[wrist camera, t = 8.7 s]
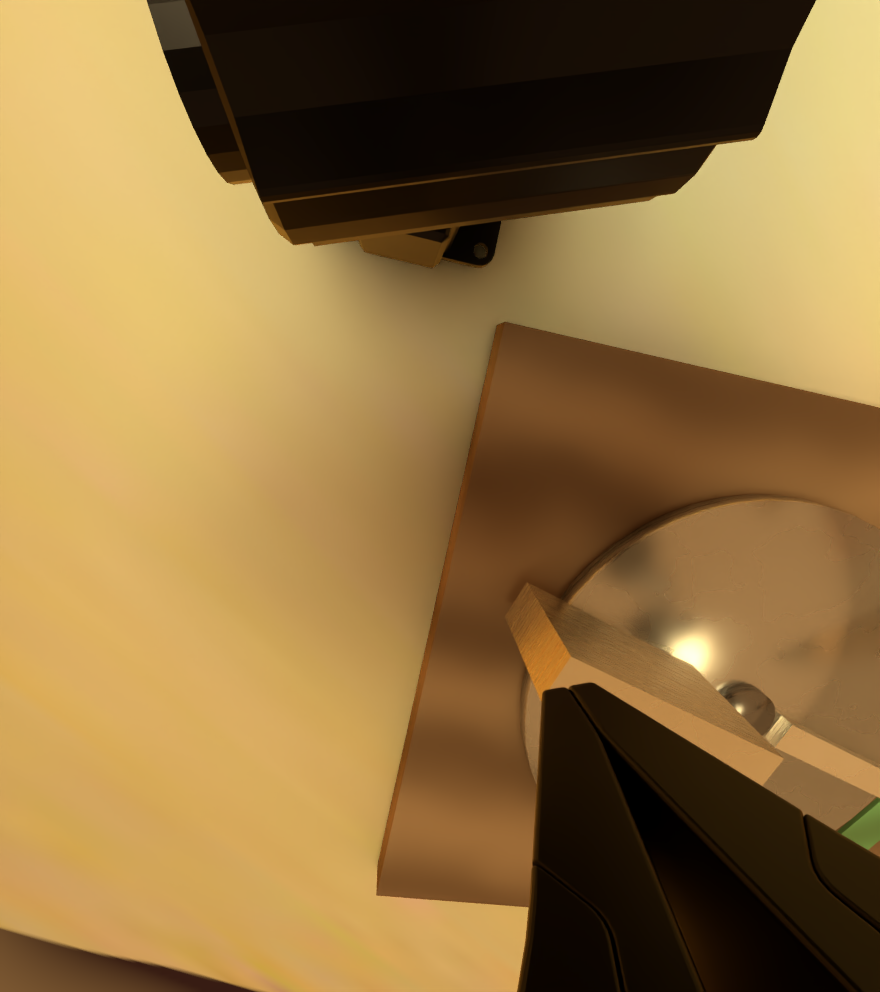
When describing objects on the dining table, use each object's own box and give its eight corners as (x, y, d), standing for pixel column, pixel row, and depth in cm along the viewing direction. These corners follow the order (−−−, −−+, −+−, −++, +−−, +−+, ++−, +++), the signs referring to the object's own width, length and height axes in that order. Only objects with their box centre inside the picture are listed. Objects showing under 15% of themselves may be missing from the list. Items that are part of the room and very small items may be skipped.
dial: (402, 761, 22) (404, 905, 16) (636, 384, 18) (746, 393, 13) (783, 913, 26) (895, 1072, 20) (1029, 628, 23) (1247, 720, 17)
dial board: (497, 325, 19) (506, 321, 17) (1061, 453, 22) (1114, 460, 21) (377, 864, 25) (376, 899, 23) (837, 903, 28) (864, 936, 27)
